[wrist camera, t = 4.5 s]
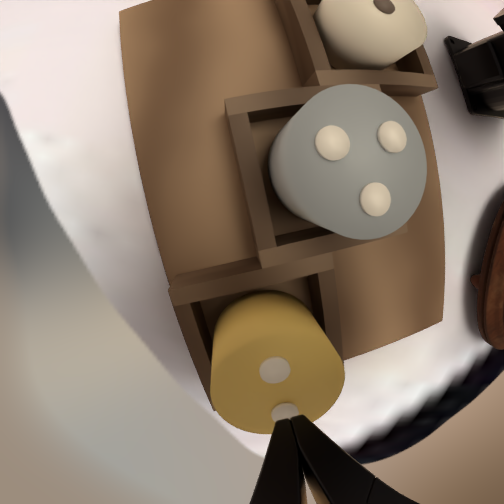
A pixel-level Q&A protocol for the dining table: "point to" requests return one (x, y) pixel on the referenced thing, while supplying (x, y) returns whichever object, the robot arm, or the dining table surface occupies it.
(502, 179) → the dining table surface
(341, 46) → the cream button
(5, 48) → the dining table surface
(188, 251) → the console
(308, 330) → the mustard button
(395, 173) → the slate button
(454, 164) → the dining table surface
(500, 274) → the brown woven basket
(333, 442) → the robot arm
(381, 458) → the dining table surface
